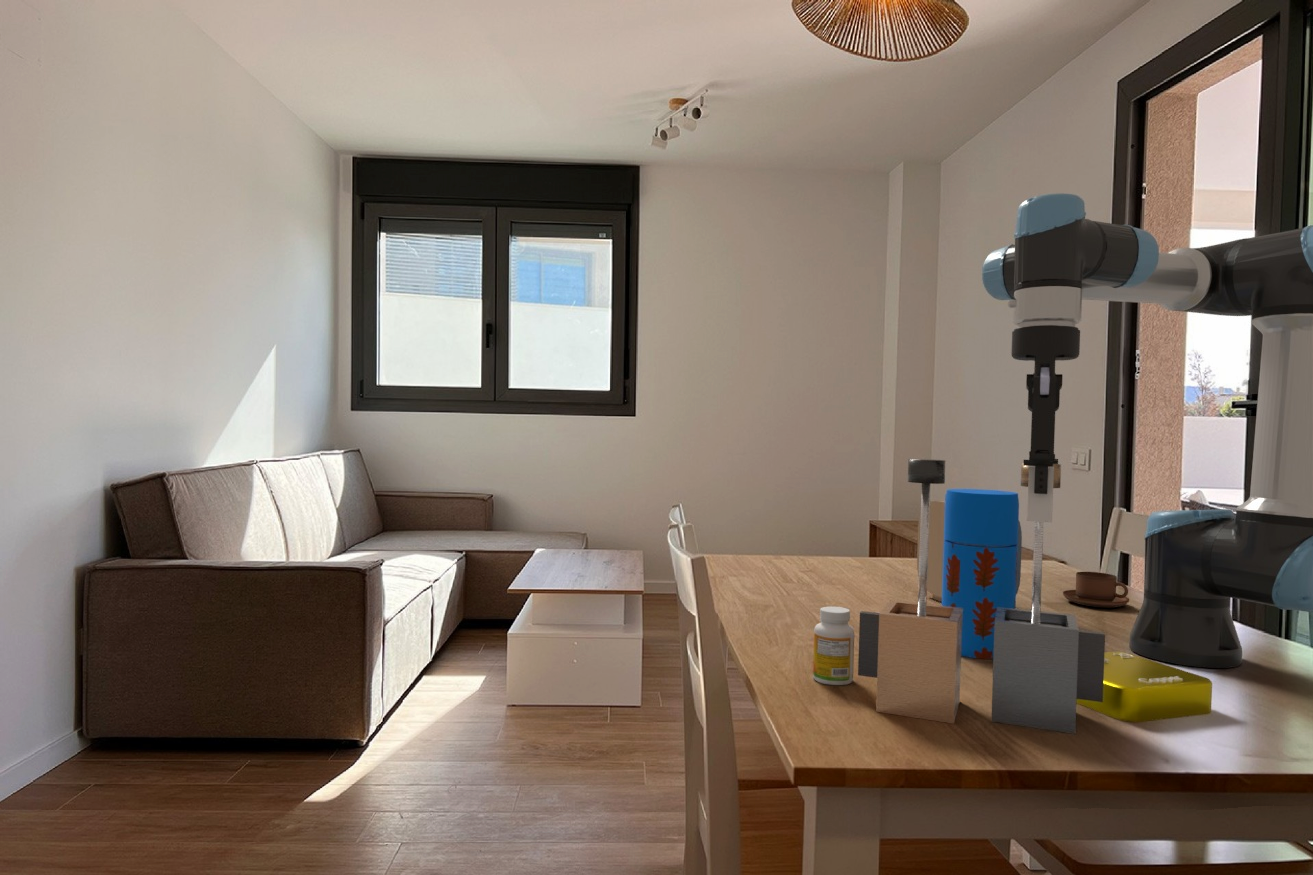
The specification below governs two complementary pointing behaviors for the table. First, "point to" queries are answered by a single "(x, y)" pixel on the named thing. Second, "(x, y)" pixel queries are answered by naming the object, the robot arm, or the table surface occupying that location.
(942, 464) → the grey capped rod
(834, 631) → the supplement bottle
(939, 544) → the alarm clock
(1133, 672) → the element tile
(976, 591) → the thermos
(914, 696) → the light wood box
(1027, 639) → the grey box
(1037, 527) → the tan and silver rod
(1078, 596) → the cup and saucer
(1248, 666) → the table surface
